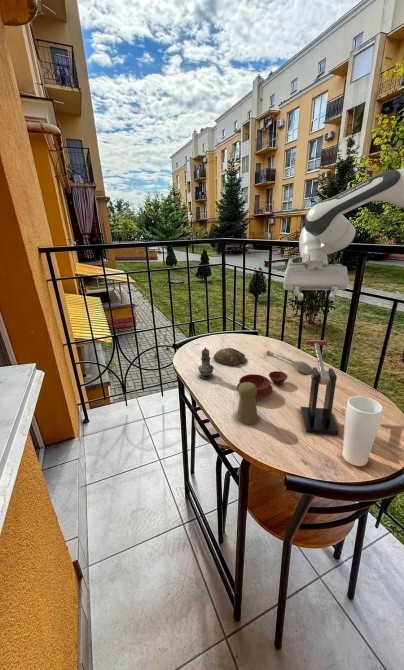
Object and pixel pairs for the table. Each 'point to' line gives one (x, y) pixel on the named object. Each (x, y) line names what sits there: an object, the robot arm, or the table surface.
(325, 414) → the bracket
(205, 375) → the grey tall knobbed piece
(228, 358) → the brown rounded lump
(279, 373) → the pottery
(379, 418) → the drinking glass
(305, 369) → the soupspoon
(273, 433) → the table surface
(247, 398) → the olive pawn figure
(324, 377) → the lever
